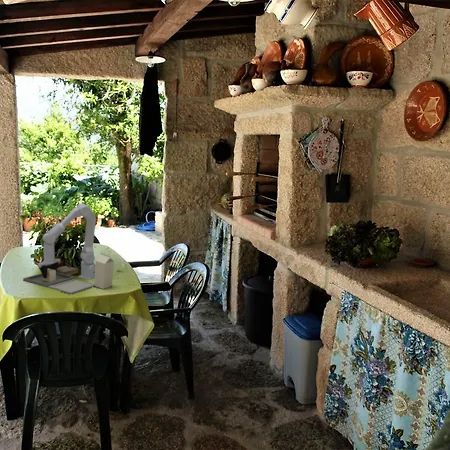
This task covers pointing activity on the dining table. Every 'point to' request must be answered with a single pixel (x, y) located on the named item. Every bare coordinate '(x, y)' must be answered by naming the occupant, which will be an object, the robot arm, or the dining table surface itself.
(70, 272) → the stand
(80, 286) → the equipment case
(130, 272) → the dining table surface
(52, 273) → the block
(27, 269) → the dining table surface
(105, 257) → the milk carton
